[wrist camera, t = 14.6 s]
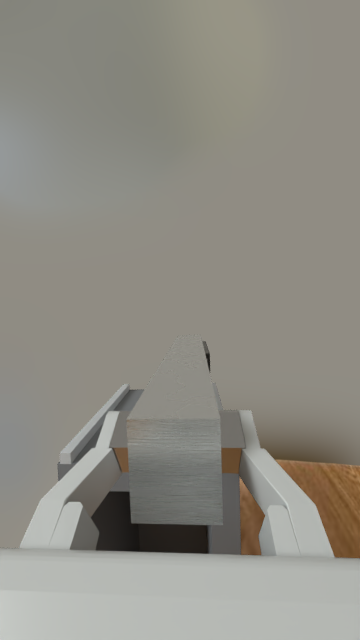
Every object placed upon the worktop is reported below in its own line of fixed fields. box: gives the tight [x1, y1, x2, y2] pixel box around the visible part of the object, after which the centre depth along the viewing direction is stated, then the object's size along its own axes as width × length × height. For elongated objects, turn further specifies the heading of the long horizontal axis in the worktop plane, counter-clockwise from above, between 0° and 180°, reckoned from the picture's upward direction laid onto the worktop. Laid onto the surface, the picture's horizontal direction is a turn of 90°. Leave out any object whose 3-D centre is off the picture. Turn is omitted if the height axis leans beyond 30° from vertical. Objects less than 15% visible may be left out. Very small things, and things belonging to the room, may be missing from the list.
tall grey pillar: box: [58, 383, 241, 555], centre depth 26 cm, size 16×13×27 cm
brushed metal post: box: [127, 335, 223, 525], centre depth 20 cm, size 24×4×4 cm, turn 177°
